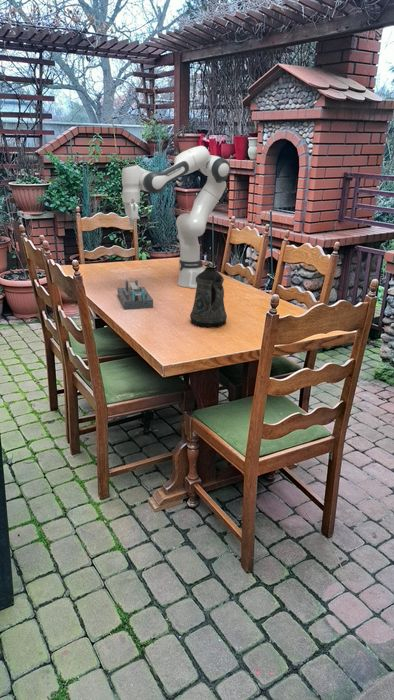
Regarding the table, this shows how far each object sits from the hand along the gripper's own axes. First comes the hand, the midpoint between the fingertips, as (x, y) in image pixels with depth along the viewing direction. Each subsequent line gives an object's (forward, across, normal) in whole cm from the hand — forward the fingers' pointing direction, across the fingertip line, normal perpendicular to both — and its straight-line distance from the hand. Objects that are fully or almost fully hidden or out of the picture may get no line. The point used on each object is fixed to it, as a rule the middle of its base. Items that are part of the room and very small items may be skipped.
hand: (132, 226), depth 265 cm
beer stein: (+35, -57, -26) cm, 72 cm away
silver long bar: (+29, -17, +2) cm, 33 cm away
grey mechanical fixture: (+35, -16, +2) cm, 38 cm away
